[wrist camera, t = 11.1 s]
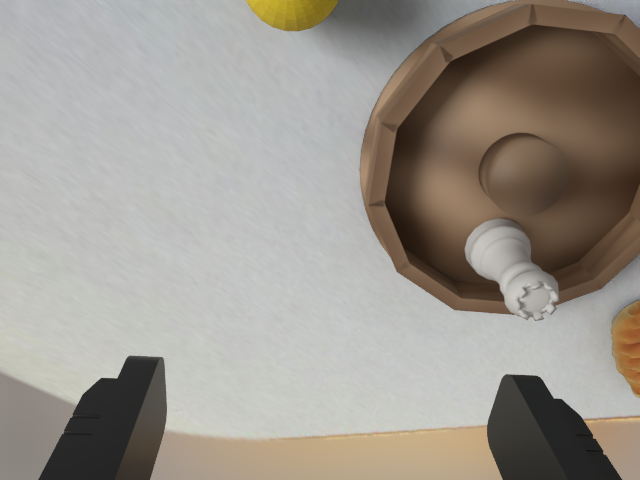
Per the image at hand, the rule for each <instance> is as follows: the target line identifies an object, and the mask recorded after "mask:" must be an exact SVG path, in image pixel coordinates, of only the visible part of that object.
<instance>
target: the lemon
mask: <svg viewBox="0 0 640 480" xmlns="http://www.w3.org/2000/svg"><path fill="white" fill-rule="evenodd" d="M246 1H247V3H248V4H249V6H250V8H251V10H252V11H253V12H254V13H255V14H256V15H257V16H258V17H259V18H260V19H261V20H262V21H264V22H265V23H267V24H269V25H270V26H272V27H274V28H278V29H281V30H284V31H301V30H305V29H309V28H312V27H314V26H315V25H317V24H319V23H321V22H322V21H323V20H324V19H325V18H326V17H327V16H328V15H329V14H330V13H331V12H332V11H333V9H334V8H335V6H336V4H337V3H338V1H339V0H246Z"/></svg>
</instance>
